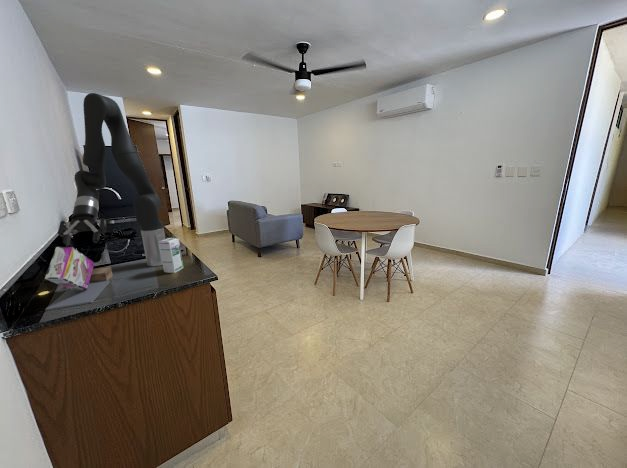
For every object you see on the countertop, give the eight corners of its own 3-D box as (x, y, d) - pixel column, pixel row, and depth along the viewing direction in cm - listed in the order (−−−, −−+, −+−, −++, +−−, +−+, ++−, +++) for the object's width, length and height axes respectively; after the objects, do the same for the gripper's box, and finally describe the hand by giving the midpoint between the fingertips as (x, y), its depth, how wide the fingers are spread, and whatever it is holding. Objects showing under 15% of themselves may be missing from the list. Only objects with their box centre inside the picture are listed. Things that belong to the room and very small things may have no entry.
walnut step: (112, 275, 109) (110, 266, 108) (107, 281, 103) (105, 272, 102) (83, 279, 105) (81, 270, 104) (76, 286, 99) (73, 277, 98)
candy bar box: (88, 290, 94) (62, 279, 80) (72, 290, 93) (42, 279, 79) (96, 261, 99) (73, 246, 85) (80, 261, 98) (54, 246, 83)
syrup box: (175, 273, 110) (169, 241, 107) (163, 272, 111) (157, 240, 108) (184, 268, 116) (179, 237, 112) (172, 267, 117) (167, 237, 113)
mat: (109, 281, 103) (109, 280, 103) (91, 303, 86) (91, 301, 86) (72, 287, 98) (71, 286, 98) (45, 310, 82) (45, 309, 82)
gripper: (58, 205, 98) (50, 240, 91) (103, 202, 103) (99, 236, 96) (68, 216, 104) (62, 250, 97) (110, 213, 110) (107, 245, 102)
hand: (80, 243), depth 96 cm, fingers open, 8 cm apart
